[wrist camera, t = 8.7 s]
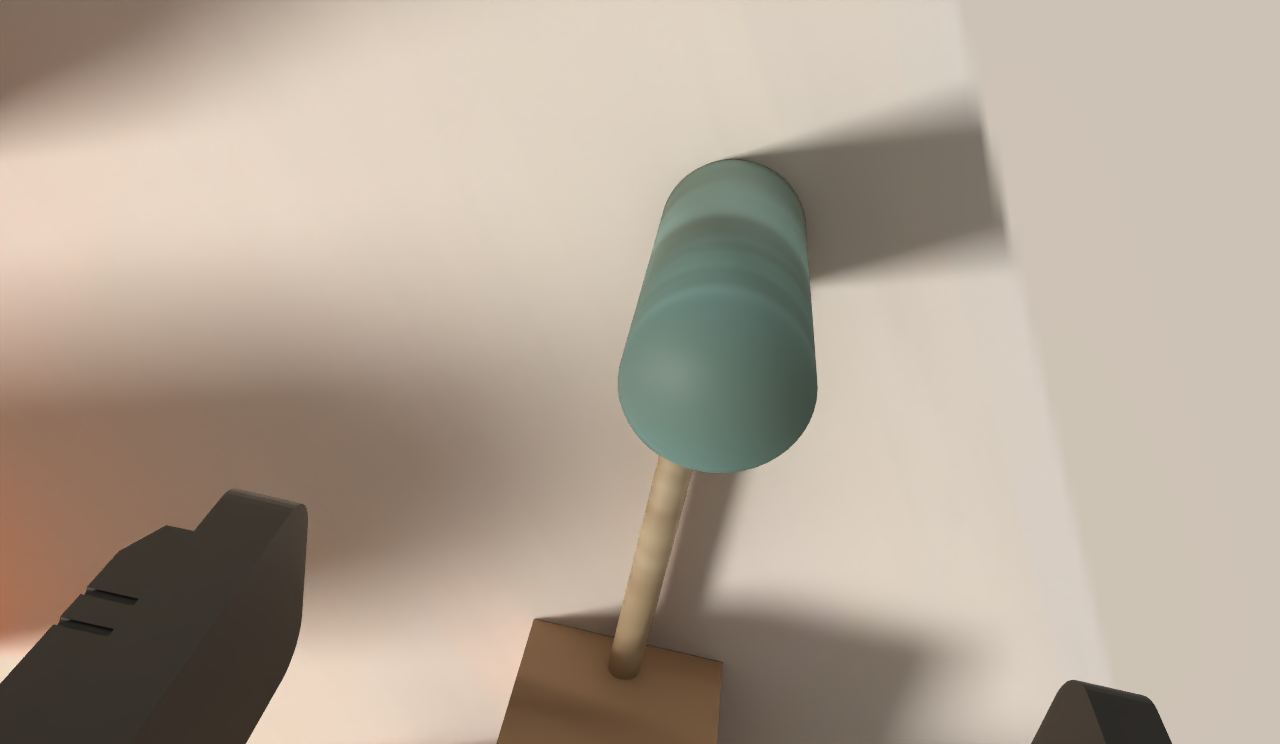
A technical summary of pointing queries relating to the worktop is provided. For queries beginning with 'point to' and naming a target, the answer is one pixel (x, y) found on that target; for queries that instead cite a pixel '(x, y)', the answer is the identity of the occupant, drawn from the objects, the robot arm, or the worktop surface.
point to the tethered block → (686, 446)
